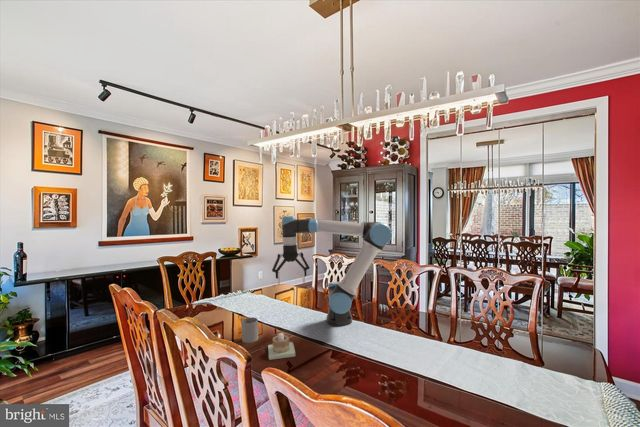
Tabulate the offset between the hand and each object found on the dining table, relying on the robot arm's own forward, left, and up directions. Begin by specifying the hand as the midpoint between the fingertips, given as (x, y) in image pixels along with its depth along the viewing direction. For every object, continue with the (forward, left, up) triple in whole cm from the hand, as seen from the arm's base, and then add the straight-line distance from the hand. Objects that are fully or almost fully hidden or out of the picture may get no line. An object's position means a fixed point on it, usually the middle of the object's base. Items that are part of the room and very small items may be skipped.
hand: (291, 283), depth 167 cm
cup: (+23, +3, -27) cm, 36 cm away
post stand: (+8, +22, -27) cm, 36 cm away
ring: (+8, +22, -25) cm, 34 cm away
